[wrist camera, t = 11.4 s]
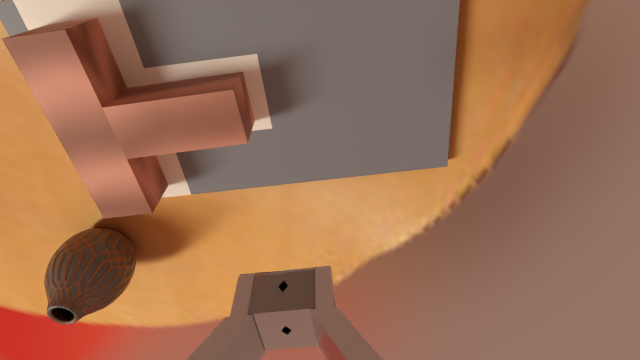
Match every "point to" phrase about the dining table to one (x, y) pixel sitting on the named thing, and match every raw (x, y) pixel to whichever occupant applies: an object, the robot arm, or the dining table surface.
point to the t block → (124, 113)
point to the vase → (88, 274)
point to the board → (288, 79)
